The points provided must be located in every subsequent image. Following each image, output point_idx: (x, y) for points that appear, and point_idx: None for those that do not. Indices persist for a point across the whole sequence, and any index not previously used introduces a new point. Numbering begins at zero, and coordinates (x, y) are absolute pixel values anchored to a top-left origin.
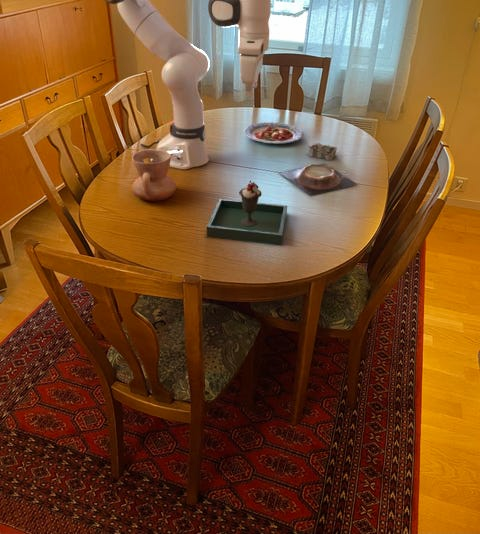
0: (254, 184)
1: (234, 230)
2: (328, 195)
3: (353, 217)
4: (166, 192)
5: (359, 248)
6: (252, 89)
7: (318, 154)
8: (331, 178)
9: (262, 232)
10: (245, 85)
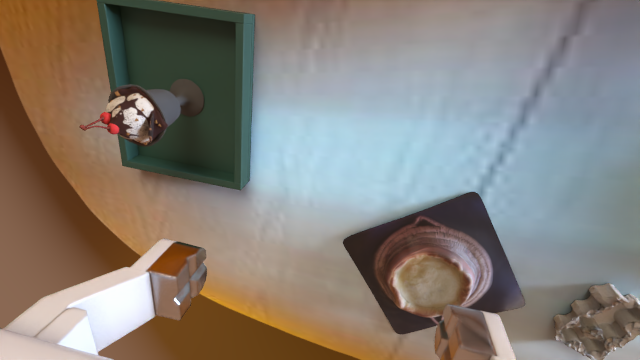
0: (126, 134)
1: (107, 66)
2: (346, 273)
3: (261, 291)
4: None
5: None
6: (146, 321)
7: (583, 307)
8: (394, 300)
9: None
10: (42, 298)
